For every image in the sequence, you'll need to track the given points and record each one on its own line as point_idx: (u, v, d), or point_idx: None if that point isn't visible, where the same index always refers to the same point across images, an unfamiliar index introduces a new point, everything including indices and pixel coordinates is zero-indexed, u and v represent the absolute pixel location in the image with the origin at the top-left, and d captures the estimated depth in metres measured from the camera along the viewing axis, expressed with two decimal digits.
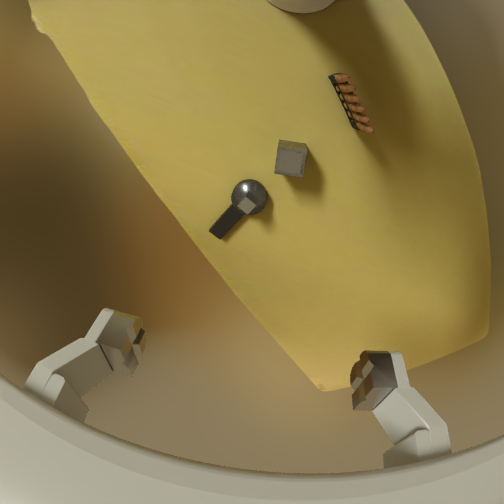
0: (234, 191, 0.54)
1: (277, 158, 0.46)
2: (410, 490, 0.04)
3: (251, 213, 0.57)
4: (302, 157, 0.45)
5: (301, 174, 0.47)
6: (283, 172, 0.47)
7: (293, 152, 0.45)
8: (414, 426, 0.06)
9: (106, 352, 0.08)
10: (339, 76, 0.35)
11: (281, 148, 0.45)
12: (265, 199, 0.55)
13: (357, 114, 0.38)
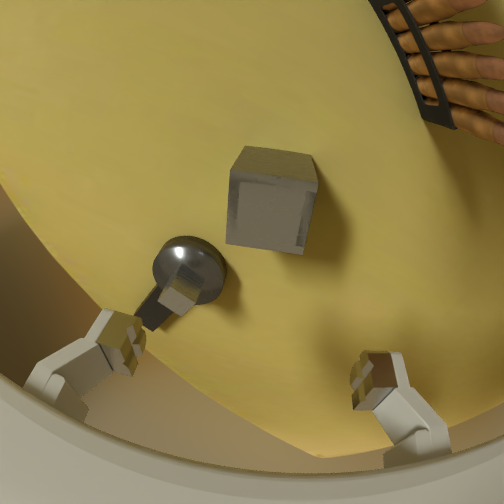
0: (156, 263, 0.25)
1: (231, 205, 0.17)
2: (410, 490, 0.04)
3: (196, 302, 0.28)
4: (304, 202, 0.16)
5: (299, 247, 0.18)
6: (250, 242, 0.18)
7: (277, 188, 0.16)
8: (414, 426, 0.06)
9: (106, 352, 0.08)
10: None
11: (240, 177, 0.15)
12: (220, 280, 0.26)
13: (469, 85, 0.09)
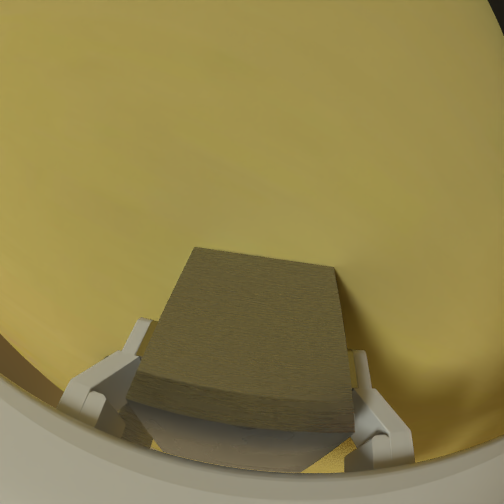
0: None
1: (153, 431, 0.06)
2: (410, 490, 0.04)
3: None
4: (313, 448, 0.06)
5: (295, 469, 0.07)
6: (205, 460, 0.08)
7: (247, 436, 0.05)
8: (374, 431, 0.06)
9: None
10: None
11: (155, 411, 0.05)
12: None
13: None
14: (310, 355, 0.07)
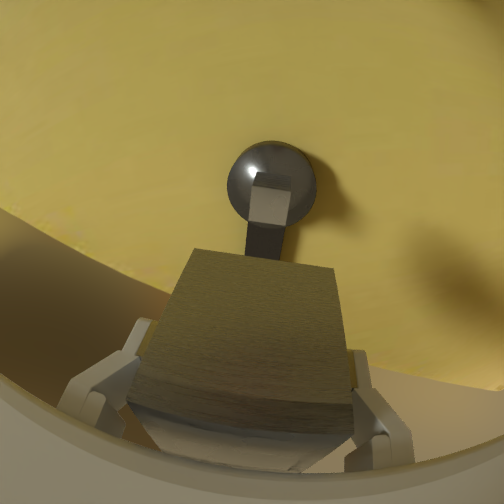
0: (230, 191, 0.22)
1: (153, 432, 0.06)
2: (410, 490, 0.04)
3: (297, 217, 0.23)
4: (312, 450, 0.06)
5: (294, 470, 0.07)
6: (205, 461, 0.07)
7: (247, 437, 0.05)
8: (374, 431, 0.06)
9: None
10: None
11: (155, 413, 0.05)
12: (307, 167, 0.20)
13: None
14: (310, 356, 0.07)
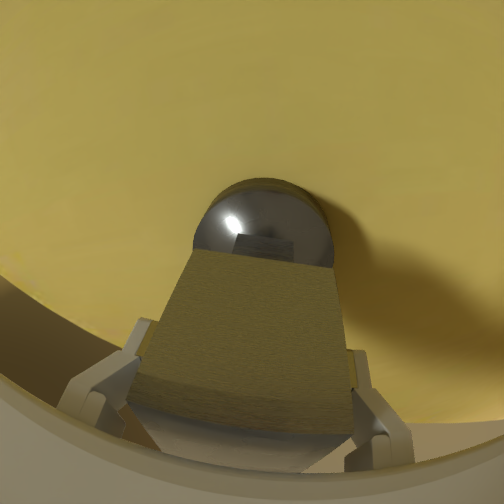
0: None
1: (153, 432, 0.06)
2: (410, 490, 0.04)
3: None
4: (312, 449, 0.06)
5: (294, 470, 0.07)
6: (205, 461, 0.08)
7: (247, 437, 0.05)
8: (374, 431, 0.06)
9: None
10: None
11: (155, 413, 0.05)
12: (322, 228, 0.12)
13: None
14: (310, 357, 0.07)
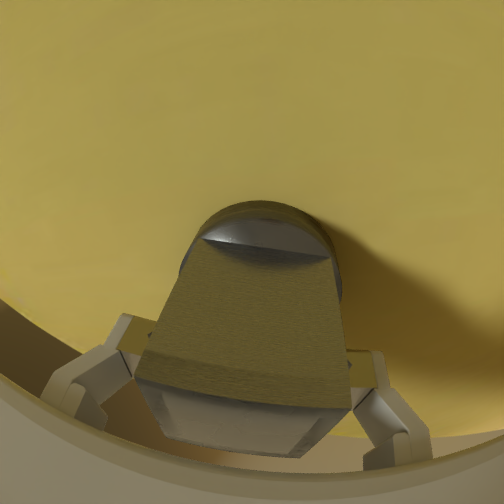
0: None
1: (157, 413, 0.07)
2: (410, 490, 0.04)
3: None
4: (312, 427, 0.06)
5: (295, 454, 0.08)
6: (207, 445, 0.08)
7: (249, 413, 0.06)
8: (393, 429, 0.06)
9: (126, 358, 0.08)
10: None
11: (161, 388, 0.06)
12: None
13: None
14: (308, 336, 0.07)
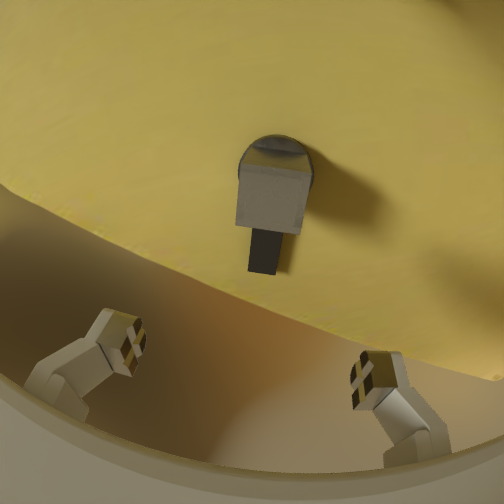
0: None
1: (240, 192, 0.20)
2: (410, 490, 0.04)
3: None
4: (300, 189, 0.19)
5: (296, 228, 0.21)
6: (256, 224, 0.21)
7: (278, 178, 0.19)
8: (414, 426, 0.06)
9: (106, 352, 0.08)
10: None
11: (249, 168, 0.19)
12: None
13: None
14: (296, 163, 0.20)
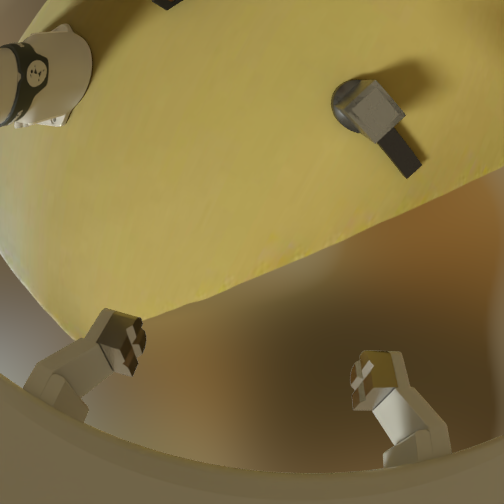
0: (347, 126, 0.31)
1: (359, 123, 0.25)
2: (410, 490, 0.04)
3: None
4: (380, 92, 0.23)
5: (401, 113, 0.23)
6: (383, 131, 0.25)
7: (366, 97, 0.23)
8: (414, 427, 0.06)
9: (106, 352, 0.08)
10: None
11: (349, 107, 0.24)
12: None
13: None
14: (363, 85, 0.24)
